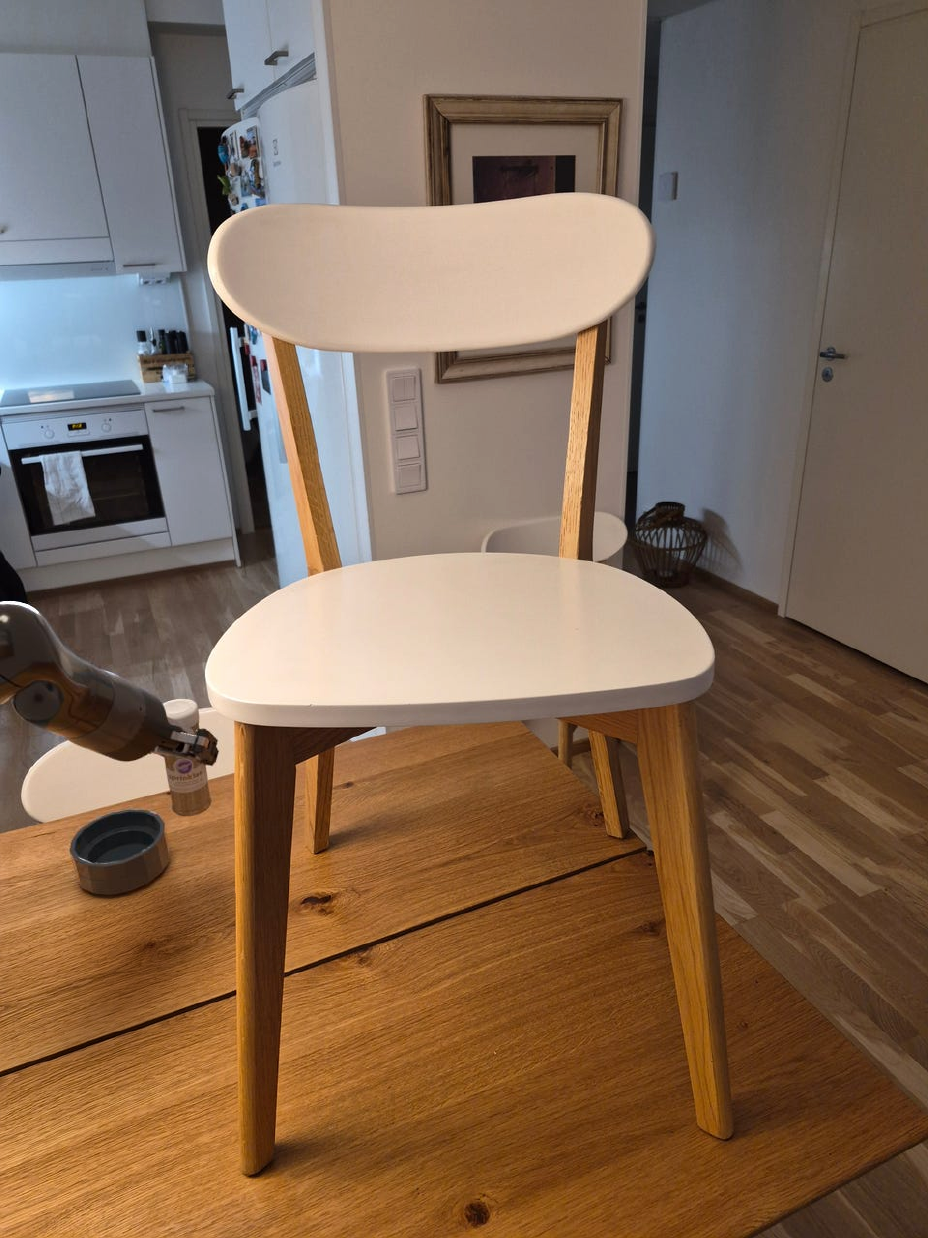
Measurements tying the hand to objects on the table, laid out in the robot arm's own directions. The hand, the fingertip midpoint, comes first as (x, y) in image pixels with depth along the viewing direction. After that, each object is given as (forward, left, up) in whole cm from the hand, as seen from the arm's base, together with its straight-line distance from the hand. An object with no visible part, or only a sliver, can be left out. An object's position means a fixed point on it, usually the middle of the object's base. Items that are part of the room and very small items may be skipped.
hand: (194, 754), depth 97 cm
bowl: (-12, +1, -18) cm, 22 cm away
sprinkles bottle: (0, -2, -6) cm, 7 cm away
